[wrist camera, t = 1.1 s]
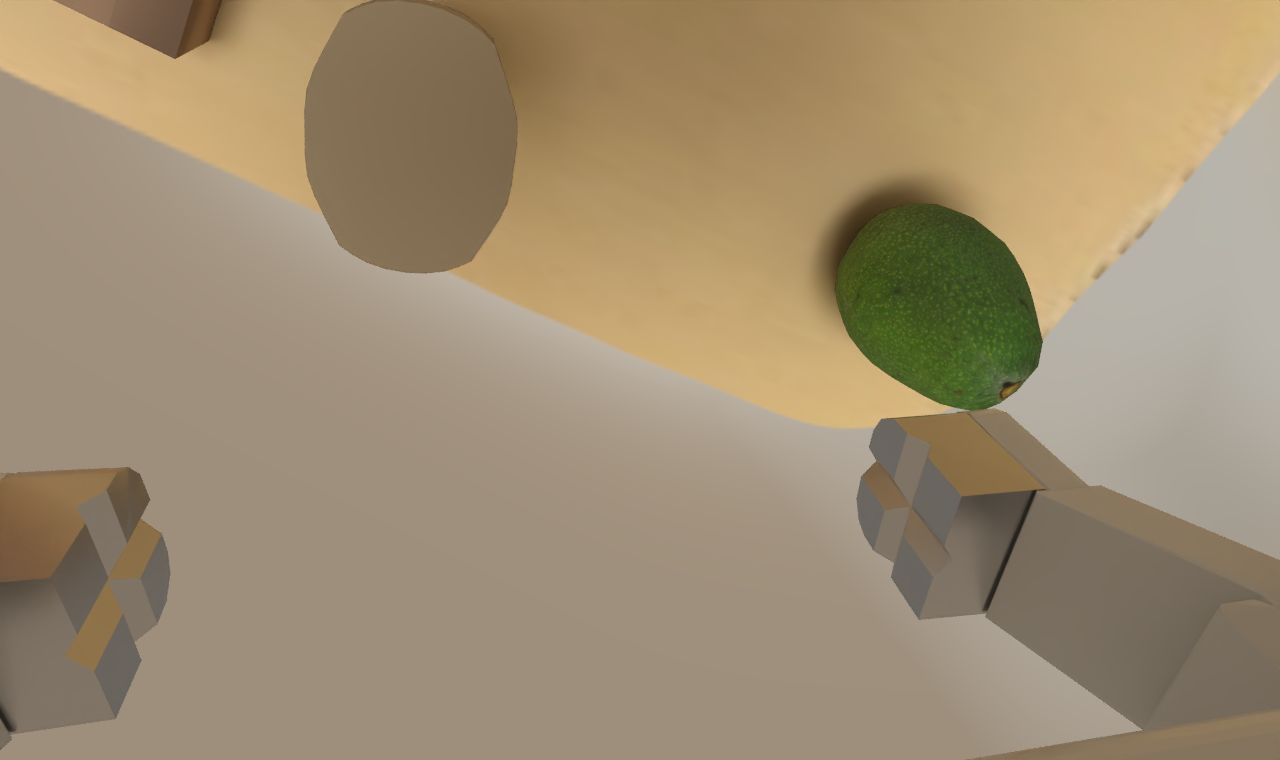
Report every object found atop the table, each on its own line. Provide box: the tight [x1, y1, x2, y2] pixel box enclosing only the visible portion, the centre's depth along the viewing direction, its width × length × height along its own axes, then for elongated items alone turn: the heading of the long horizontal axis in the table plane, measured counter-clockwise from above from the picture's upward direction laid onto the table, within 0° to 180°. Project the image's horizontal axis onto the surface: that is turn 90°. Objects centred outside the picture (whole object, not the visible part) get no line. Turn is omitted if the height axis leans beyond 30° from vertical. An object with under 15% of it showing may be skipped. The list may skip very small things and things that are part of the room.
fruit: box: [835, 204, 1043, 411], centre depth 35 cm, size 8×8×12 cm
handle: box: [304, 0, 517, 273], centre depth 24 cm, size 5×6×15 cm
